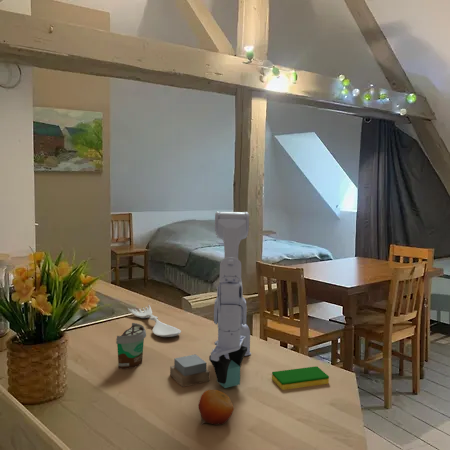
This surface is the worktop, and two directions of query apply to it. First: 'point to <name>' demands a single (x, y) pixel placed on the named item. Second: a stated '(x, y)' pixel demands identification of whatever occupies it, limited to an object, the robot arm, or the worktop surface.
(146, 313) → the spoon
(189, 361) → the gray block
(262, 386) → the worktop surface
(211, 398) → the fruit
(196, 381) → the walnut slab
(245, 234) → the robot arm
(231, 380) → the teal block
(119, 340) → the food container
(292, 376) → the dish sponge
